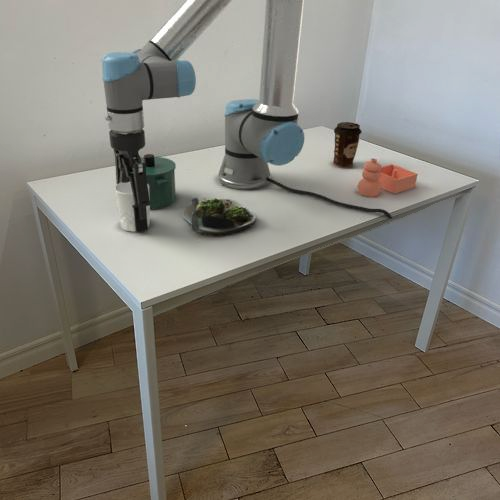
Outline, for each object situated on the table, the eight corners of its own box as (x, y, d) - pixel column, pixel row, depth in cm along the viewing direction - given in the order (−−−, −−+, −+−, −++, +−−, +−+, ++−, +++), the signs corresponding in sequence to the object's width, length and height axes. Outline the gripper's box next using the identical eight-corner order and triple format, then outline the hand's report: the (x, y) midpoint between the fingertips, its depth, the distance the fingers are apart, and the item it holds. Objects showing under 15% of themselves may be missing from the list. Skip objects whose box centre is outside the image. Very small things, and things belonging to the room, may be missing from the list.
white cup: (113, 231, 118) (108, 191, 113) (126, 216, 125) (122, 179, 120) (145, 234, 117) (142, 195, 112) (156, 219, 124) (154, 182, 119)
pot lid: (163, 157, 138) (162, 144, 136) (184, 173, 128) (183, 159, 126) (116, 165, 131) (115, 151, 129) (135, 183, 122) (133, 168, 120)
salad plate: (165, 210, 128) (164, 194, 126) (226, 197, 136) (226, 181, 134) (199, 243, 114) (199, 225, 112) (265, 226, 122) (266, 209, 120)
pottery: (389, 176, 154) (395, 145, 149) (414, 187, 147) (421, 155, 142) (348, 189, 144) (352, 156, 140) (373, 200, 138) (379, 166, 133)
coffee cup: (361, 164, 163) (367, 124, 156) (351, 171, 157) (356, 130, 150) (336, 158, 167) (341, 119, 160) (325, 165, 161) (330, 125, 154)
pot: (160, 183, 143) (158, 153, 139) (187, 207, 130) (186, 174, 126) (118, 192, 137) (114, 160, 133) (142, 217, 125) (140, 183, 120)
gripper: (94, 119, 115) (106, 209, 126) (126, 145, 100) (136, 245, 111) (126, 115, 118) (134, 204, 130) (161, 140, 103) (167, 237, 115)
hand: (135, 222), depth 120 cm, fingers closed on white cup, 8 cm apart
